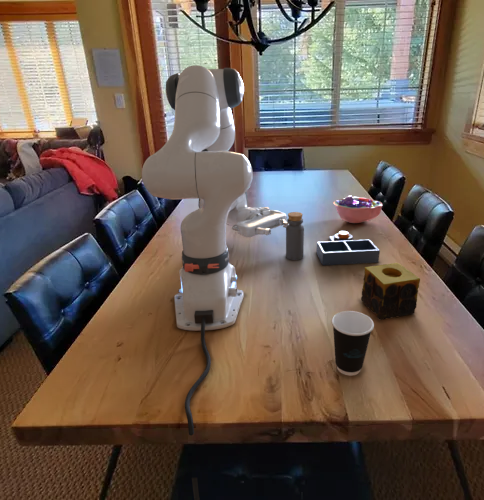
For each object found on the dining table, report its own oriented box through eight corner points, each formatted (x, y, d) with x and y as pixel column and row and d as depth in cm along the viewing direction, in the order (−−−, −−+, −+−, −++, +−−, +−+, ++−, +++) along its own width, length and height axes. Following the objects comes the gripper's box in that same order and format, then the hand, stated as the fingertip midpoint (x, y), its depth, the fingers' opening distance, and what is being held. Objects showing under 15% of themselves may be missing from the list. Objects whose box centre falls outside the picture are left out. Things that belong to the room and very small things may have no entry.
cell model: (386, 228, 150) (389, 200, 145) (336, 229, 150) (337, 201, 145) (374, 214, 165) (377, 189, 161) (329, 215, 165) (330, 190, 161)
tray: (378, 262, 121) (379, 250, 119) (322, 265, 119) (322, 253, 118) (368, 250, 129) (369, 239, 128) (316, 253, 128) (316, 241, 126)
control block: (357, 248, 131) (358, 240, 130) (335, 249, 131) (335, 241, 129) (349, 238, 140) (350, 230, 139) (328, 239, 140) (329, 231, 139)
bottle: (292, 251, 130) (293, 210, 124) (306, 255, 126) (307, 213, 120) (282, 257, 125) (282, 214, 120) (296, 261, 122) (297, 218, 116)
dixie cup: (349, 387, 71) (354, 339, 66) (320, 364, 77) (323, 319, 72) (377, 370, 75) (382, 324, 71) (347, 349, 81) (351, 306, 76)
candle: (379, 321, 90) (383, 285, 86) (359, 300, 99) (362, 266, 95) (416, 314, 93) (422, 279, 89) (393, 294, 102) (397, 261, 98)
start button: (349, 238, 133) (350, 234, 132) (339, 239, 133) (340, 234, 132) (346, 235, 136) (347, 230, 135) (337, 235, 136) (337, 231, 135)
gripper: (228, 218, 128) (257, 228, 119) (269, 205, 141) (298, 213, 132) (229, 236, 130) (257, 246, 121) (270, 221, 144) (297, 229, 135)
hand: (279, 228), depth 127 cm, fingers open, 8 cm apart
